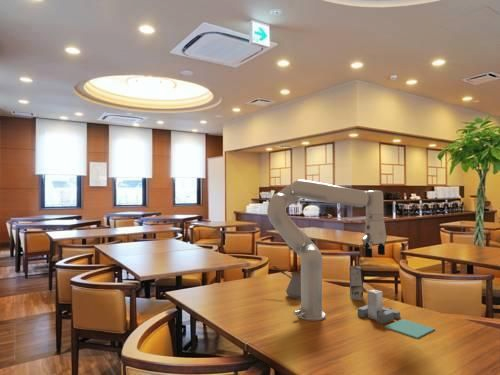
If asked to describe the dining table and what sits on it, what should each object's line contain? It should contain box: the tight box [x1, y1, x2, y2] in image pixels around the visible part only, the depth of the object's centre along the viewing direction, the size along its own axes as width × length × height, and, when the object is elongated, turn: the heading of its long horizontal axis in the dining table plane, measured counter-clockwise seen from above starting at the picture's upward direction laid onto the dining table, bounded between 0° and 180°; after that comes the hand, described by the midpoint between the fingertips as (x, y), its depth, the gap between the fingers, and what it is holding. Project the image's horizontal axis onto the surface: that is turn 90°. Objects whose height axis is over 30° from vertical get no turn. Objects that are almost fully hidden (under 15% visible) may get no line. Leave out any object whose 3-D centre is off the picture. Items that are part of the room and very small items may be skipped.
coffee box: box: [349, 265, 364, 301], centre depth 190 cm, size 9×6×16 cm
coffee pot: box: [271, 265, 301, 300], centre depth 194 cm, size 21×12×15 cm, turn 55°
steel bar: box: [367, 289, 384, 321], centre depth 159 cm, size 4×4×12 cm
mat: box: [383, 318, 436, 340], centre depth 147 cm, size 14×14×1 cm
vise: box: [357, 304, 401, 325], centre depth 162 cm, size 16×13×4 cm
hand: (375, 255), depth 160 cm, fingers open, 9 cm apart
